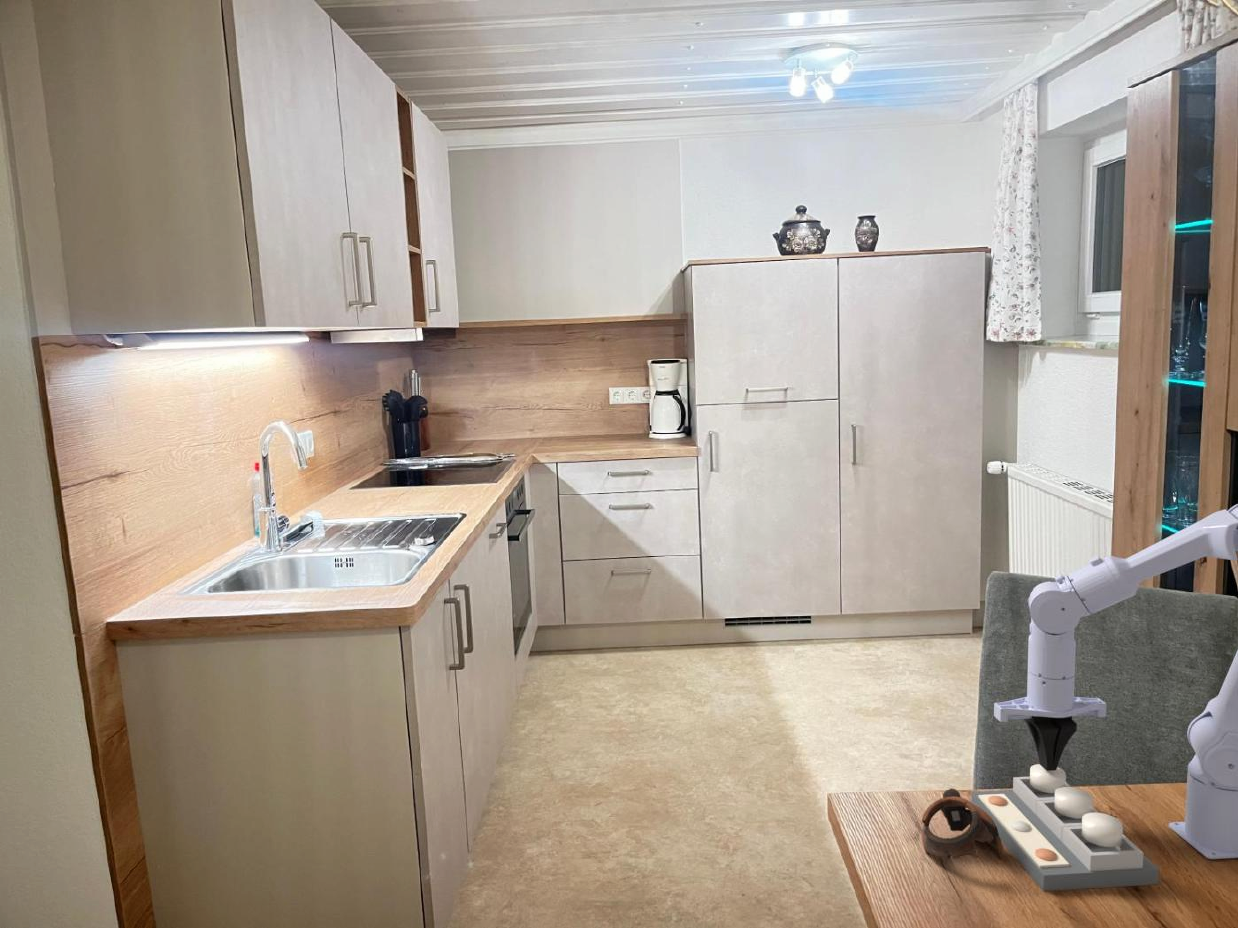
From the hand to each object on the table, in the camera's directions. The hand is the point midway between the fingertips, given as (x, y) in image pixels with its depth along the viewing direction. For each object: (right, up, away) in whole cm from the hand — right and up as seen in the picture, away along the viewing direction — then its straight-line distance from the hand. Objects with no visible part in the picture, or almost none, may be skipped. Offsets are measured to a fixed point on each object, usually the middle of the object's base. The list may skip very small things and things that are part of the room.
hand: (1047, 767), depth 122 cm
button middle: (0, -3, -6) cm, 7 cm away
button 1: (0, -3, 0) cm, 3 cm away
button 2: (+1, -4, -13) cm, 13 cm away
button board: (-1, -8, -6) cm, 10 cm away
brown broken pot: (-14, -9, -7) cm, 18 cm away
